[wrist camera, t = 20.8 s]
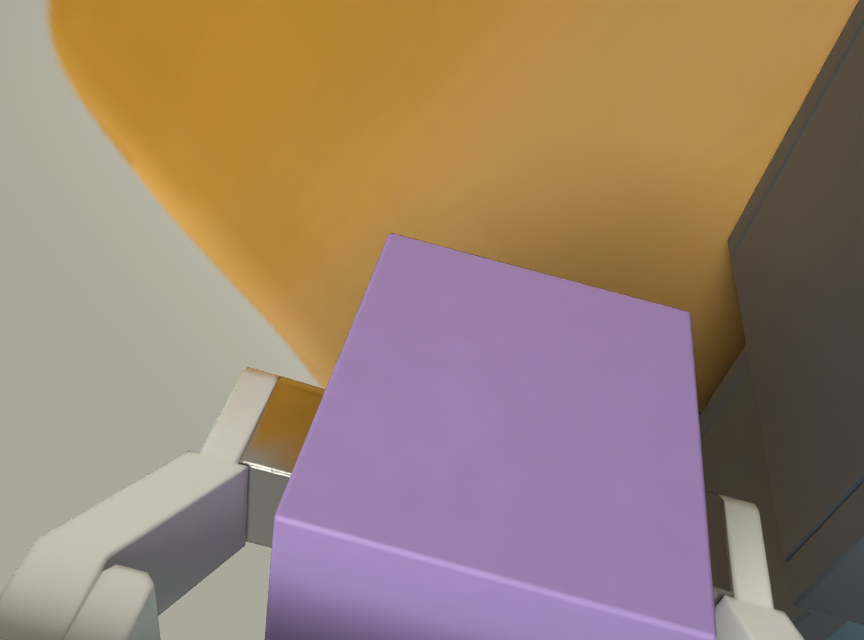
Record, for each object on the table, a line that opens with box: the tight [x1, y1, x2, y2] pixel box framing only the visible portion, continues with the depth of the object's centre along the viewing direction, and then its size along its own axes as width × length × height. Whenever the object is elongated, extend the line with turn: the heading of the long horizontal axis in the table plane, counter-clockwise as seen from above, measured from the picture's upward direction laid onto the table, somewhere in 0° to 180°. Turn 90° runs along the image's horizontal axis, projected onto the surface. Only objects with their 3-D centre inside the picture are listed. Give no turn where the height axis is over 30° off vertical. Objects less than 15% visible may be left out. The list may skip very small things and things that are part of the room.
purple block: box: [265, 233, 717, 640], centre depth 11 cm, size 4×4×5 cm
